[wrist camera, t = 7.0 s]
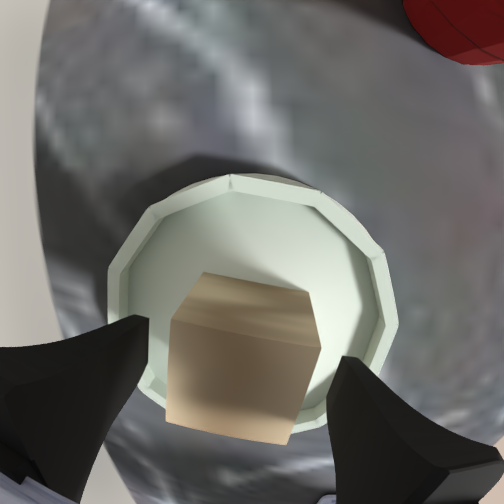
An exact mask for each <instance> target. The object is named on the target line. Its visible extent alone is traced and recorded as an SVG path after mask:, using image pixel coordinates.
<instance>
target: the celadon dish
mask: <svg viewBox="0 0 504 504" xmlns="http://www.w3.org/2000/svg"><path fill="white" fill-rule="evenodd" d="M108 268H109V269H108V324H110V323H113V322H115V321H118V320H120V319H122V318H125V317H127V316H130V315H133V314H136V315H140V316H144V317H148V318H150V319H149V350H148V364H147V366H146V368H145V371H144V373H143V375H142V377H141V379H140V381H139V383H138V385H137V386H138V388H139V389H140V391H141V390H142V391H141V392H143V393H144V394H145V395H147V396H148V397H149V398H151V399H152V400H154V401H155V402H156V403H158V404H159V405H161V406H162V407H163V408H165V409H166V395H167V371H168V352H169V336H170V322H171V318H172V316H173V315H174V313H175V312H176V310H177V309H178V308H179V306H180V305H181V303H182V302H183V300H184V299H185V298H186V296H187V295H188V293H189V292H190V290H191V289H192V288H193V286H194V285H195V283H196V282H197V280H198V279H199V278H200V276H201V275H202V273H203V272H207V273H212V274H217V275H222V276H227V277H232V278H237V279H242V280H247V281H252V282H257V283H263V284H268V285H273V286H278V287H284V288H289V289H294V290H300V291H305V292H309V295H310V299H311V303H312V307H313V312H314V316H315V320H316V325H317V329H318V334H319V338H320V343H321V347H322V349H321V352H320V355H319V358H318V361H317V364H316V367H315V370H314V372H313V375H312V378H311V381H310V384H309V387H308V389H307V392H306V395H305V398H304V400H303V403H302V406H301V408H300V411H299V414H298V416H297V419H296V421H295V424H294V427H293V429H292V432H291V434H292V433H297V432H301V431H306V430H310V429H314V428H318V427H321V426H323V425H324V424H326V423H327V415H326V396H327V393H328V391H329V388H330V386H331V383H332V381H333V378H334V375H335V373H336V370H337V368H338V365H339V362H340V359H341V357H342V355H343V356H351V357H357V358H359V359H360V360H361V361H362V362H363V363H364V364H365V365H366V366H367V367H368V368H369V369H370V370H371V371H372V372H373V373H374V374H375V375H376V376H377V377H378V375H379V372H380V370H381V368H382V365H383V363H384V361H385V358H386V356H387V354H388V351H389V349H390V346H391V344H392V341H393V339H394V336H395V334H396V331H397V329H398V326H399V325H398V324H399V322H398V316H397V310H396V305H395V299H394V294H393V289H392V284H391V279H390V274H389V270H388V265H387V261H386V256H385V252H383V250H382V249H381V248H380V247H379V246H378V245H377V244H376V243H375V242H374V241H373V240H372V238H371V237H370V235H369V234H368V232H367V231H366V229H365V228H364V227H363V226H362V225H361V224H360V222H359V221H358V220H357V219H356V218H355V217H354V216H353V215H352V214H351V213H350V212H349V211H347V210H346V209H345V208H344V207H343V206H341V205H340V204H339V203H338V202H336V201H335V200H333V199H332V198H330V197H328V196H327V195H325V194H324V193H323V192H321V191H319V190H317V189H314V188H312V187H310V186H307V185H305V184H303V183H300V182H298V181H295V180H291V179H287V178H283V177H280V176H274V175H266V174H258V173H249V174H228V175H225V176H219V177H213V178H209V179H206V180H203V181H200V182H197V183H194V184H191V185H189V186H187V187H185V188H183V189H181V190H179V191H177V192H175V193H173V194H172V195H170V196H169V197H167V198H166V199H165V200H162V201H160V202H158V203H155V204H153V205H151V206H150V207H148V208H147V210H146V211H145V213H144V214H143V216H142V217H141V218H140V220H139V221H138V223H137V224H136V226H135V227H134V229H133V230H132V232H131V233H130V235H129V236H128V238H127V239H126V241H125V242H124V244H123V245H122V247H121V248H120V250H119V251H118V253H117V255H116V256H115V258H114V259H113V261H112V262H111V264H110V266H109V267H108ZM320 425H321V426H320Z"/></svg>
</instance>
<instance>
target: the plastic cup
mask: <svg viewBox="0 0 504 504" xmlns="http://www.w3.org/2000/svg"><path fill="white" fill-rule="evenodd" d="M403 8H404V10H405V12H406V14H407V16H408V18H409V20H410V22H411V25H412V26H413V27H414V28H415V30H416V31H417V32H418V33H419V34H420V35H421V37H422V38H423V39H424V40H425V42H426V43H427V44H429V45H430V46H431V47H433V48H434V49H435V50H437V51H438V52H439V53H441V54H442V55H443V56H444V57H446V58H449V59H451V60H454V61H456V62H459V63H461V64H463V65H464V64H469V65H491V64H499V63H504V0H403Z"/></svg>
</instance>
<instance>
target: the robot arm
mask: <svg viewBox="0 0 504 504" xmlns="http://www.w3.org/2000/svg"><path fill="white" fill-rule="evenodd" d="M149 319H150V318H148V317H144V316H140V315H136V314H133V315H130V316H127V317H125V318H122V319H120V320H118V321H115V322H113V323H110V324H108V325H105V326H103V327H100V328H98V329H95V330H93V331H90V332H87V333H84V334H81V335H78V336H75V337H72V338H69V339H65V340H61V341H57V342H52V343H47V344H40V345H33V346H23V347H0V504H80V501H81V498H82V494H83V491H84V488H85V485H86V483H87V480H88V477H89V474H90V472H91V469H92V466H93V464H94V461H95V459H96V457H97V454H98V452H99V450H100V447H101V445H102V443H103V441H104V439H105V437H106V435H107V432H108V430H109V428H110V427H111V425H112V423H113V421H114V420H115V418H116V417H117V415H118V414H119V412H120V411H121V409H122V408H123V406H124V405H125V403H126V402H127V400H128V399H129V397H130V395H131V394H132V392H133V391H134V389H135V388H136V386H137V385H138V383H139V381H140V379H141V377H142V375H143V373H144V371H145V368H146V366H147V364H148V350H149ZM326 415H327V424H328V430H329V435H330V441H331V447H332V452H333V458H334V464H335V473H336V495H325V496H323V497H322V498H321V499H320V500H319V502H318V503H317V504H479V503H478V502H479V500H480V499H482V498H483V497H484V496H485V495H486V494H487V493H488V492H489V491H490V490H491V489H492V487H494V485H495V484H496V483H497V482H498V481H499V480H500V478H501V477H502V475H503V473H504V460H503V458H502V456H501V455H500V453H499V451H498V450H497V448H496V447H493V446H489V445H486V444H482V443H479V442H476V441H473V440H470V439H468V438H465V437H463V436H460V435H458V434H456V433H453V432H451V431H449V430H447V429H445V428H444V427H442V426H440V425H438V424H436V423H435V422H433V421H431V420H430V419H428V418H426V417H425V416H423V415H422V414H421V413H419V412H418V411H416V410H415V409H413V408H412V407H411V406H410V405H408V404H407V403H406V402H405V401H403V400H402V399H401V398H400V397H399V396H398V395H396V394H395V393H394V392H393V391H392V390H391V389H390V388H389V387H388V386H387V385H386V384H385V383H383V382H382V381H381V380H380V379H379V378H378V377H377V376H376V375H375V374H374V373H373V372H372V371H371V370H370V369H369V368H368V367H367V366H366V365H365V364H364V363H363V362H362V361H361V360H360V359H359V358H357V357H351V356H343V355H342V357H341V359H340V362H339V365H338V368H337V370H336V373H335V375H334V378H333V381H332V383H331V386H330V388H329V391H328V393H327V396H326Z"/></svg>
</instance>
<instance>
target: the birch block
mask: <svg viewBox="0 0 504 504" xmlns="http://www.w3.org/2000/svg"><path fill="white" fill-rule="evenodd" d="M321 349H322V347H321V343H320V338H319V334H318V329H317V325H316V320H315V316H314V312H313V307H312V303H311V299H310V295H309V292H305V291H300V290H294V289H289V288H284V287H278V286H273V285H268V284H263V283H257V282H252V281H247V280H242V279H237V278H232V277H227V276H222V275H217V274H212V273H207V272H203V273H202V275H201V276H200V278H199V279H198V280H197V282H196V283H195V285H194V286H193V288H192V289H191V290H190V292H189V293H188V295H187V296H186V298H185V299H184V300H183V302H182V303H181V305H180V306H179V308H178V309H177V310H176V312H175V313H174V315H173V316H172V318H171V322H170V336H169V352H168V371H167V395H166V422H170V423H174V424H177V425H181V426H185V427H189V428H193V429H197V430H202V431H206V432H211V433H215V434H220V435H225V436H230V437H236V438H241V439H247V440H253V441H259V442H266V443H274V444H281V445H286V444H287V441H288V439H289V437H290V434H291V432H292V429H293V427H294V424H295V421H296V419H297V416H298V414H299V411H300V408H301V406H302V403H303V400H304V398H305V395H306V392H307V389H308V387H309V384H310V381H311V378H312V375H313V372H314V370H315V367H316V364H317V361H318V358H319V355H320V352H321Z"/></svg>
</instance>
